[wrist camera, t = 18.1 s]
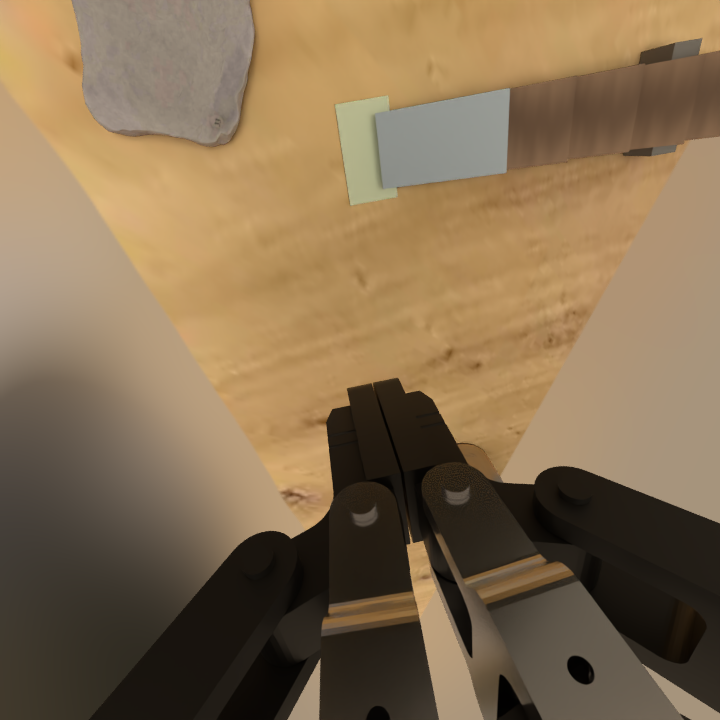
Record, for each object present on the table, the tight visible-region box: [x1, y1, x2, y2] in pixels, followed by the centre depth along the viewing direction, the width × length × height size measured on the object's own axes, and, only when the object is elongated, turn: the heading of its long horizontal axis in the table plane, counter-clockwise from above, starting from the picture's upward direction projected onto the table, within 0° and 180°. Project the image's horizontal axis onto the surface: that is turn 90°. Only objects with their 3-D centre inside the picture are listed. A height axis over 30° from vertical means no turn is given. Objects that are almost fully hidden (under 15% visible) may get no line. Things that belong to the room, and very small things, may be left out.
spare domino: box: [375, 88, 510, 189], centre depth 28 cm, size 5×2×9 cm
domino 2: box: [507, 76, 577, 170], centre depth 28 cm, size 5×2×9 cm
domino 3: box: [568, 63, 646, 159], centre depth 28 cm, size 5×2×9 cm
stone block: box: [72, 0, 255, 147], centre depth 24 cm, size 12×5×10 cm
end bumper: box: [623, 38, 702, 156], centre depth 29 cm, size 7×2×3 cm, turn 9°
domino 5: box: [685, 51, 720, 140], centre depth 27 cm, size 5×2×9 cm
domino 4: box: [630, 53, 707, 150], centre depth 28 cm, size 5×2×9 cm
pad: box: [335, 95, 398, 206], centre depth 30 cm, size 7×4×1 cm, turn 9°
